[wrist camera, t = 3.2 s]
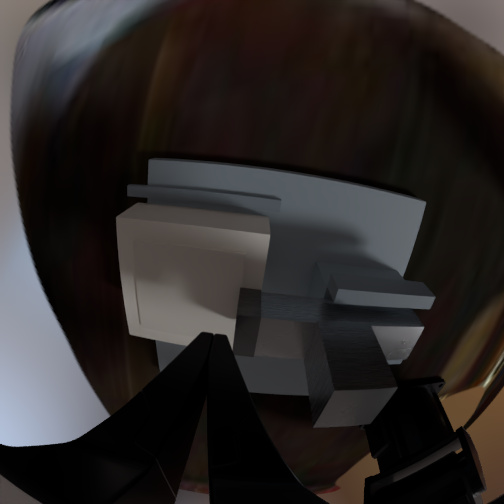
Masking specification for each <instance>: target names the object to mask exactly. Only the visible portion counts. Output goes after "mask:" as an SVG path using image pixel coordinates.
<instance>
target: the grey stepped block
mask: <svg viewBox="0 0 504 504" xmlns="http://www.w3.org/2000/svg"><path fill="white" fill-rule="evenodd" d="M423 329H424V326H423V324H422V323H421V321H420V320H419V318H418V317H417V315H416V314H415V312H414V311H413V309H412V308H396V307H379V306H364V305H351V304H338V303H334V302H333V300H332V299H327V298H316V297H306V296H296V295H287V294H277V293H268V292H261V290H258V289H250V288H242V287H240V292H239V300H238V308H237V316H236V324H235V333H234V342H233V353H234V355H238V356H247V357H254V355H255V356H265V357H277V358H291V359H304V365H305V372H306V379H307V386H308V393H309V400H310V408H311V415H312V423H313V428H316V427H340V426H354V425H365V424H371V422H372V421H373V420H374V419H375V417H376V416H377V415H378V414H379V412H380V411H381V410H382V409H383V407H384V406H385V405H386V403H387V402H388V401H389V399H390V398H391V397H392V395H393V394H394V392H395V391H396V390H397V388H398V386H397V383H396V381H395V378H394V376H393V374H392V371H391V369H390V367H389V364H388V362H387V360H404V359H407V357H408V356H409V354H410V352H411V350H412V349H413V347H414V345H415V343H416V342H417V340H418V338H419V336H420V334H421V332H422V331H423Z"/></svg>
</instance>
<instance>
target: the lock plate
mask: <svg viewBox="0 0 504 504" xmlns="http://www.w3.org/2000/svg"><path fill="white" fill-rule="evenodd" d="M127 196H132V197H145V198H148V200H147V203H149V204H160V205H171V206H181V207H191V208H201V209H210V210H219V211H227V212H236V213H244V214H252V215H260V216H268V217H269V223H270V241H269V248H268V254H267V260H266V266H265V272H264V279H263V285H262V291H261V292H268V293H277V294H287V295H296V296H306V297H316V298H327V299H332V300H333V302H334V303H338V304H351V305H364V306H379V307H396V308H415V309H430V308H431V306H432V304H433V301H434V299H435V296H434V295H433V293H432V292H431V291H430V290H429V289H428V288H427V286H426V285H425V284H424V283H423V282H415V281H405V280H404V278H403V275H404V272H405V270H406V267H407V264H408V261H409V258H410V255H411V252H412V249H413V246H414V243H415V240H416V237H417V234H418V230H419V227H420V223H421V220H422V216H423V213H424V209H425V205H426V202H425V201H423V200H421V199H419V198H416V197H413V196H409V195H405V194H401V193H397V192H393V191H389V190H385V189H380V188H376V187H372V186H367V185H363V184H358V183H353V182H348V181H343V180H338V179H333V178H328V177H322V176H317V175H311V174H305V173H299V172H293V171H286V170H279V169H272V168H265V167H257V166H249V165H241V164H232V163H222V162H211V161H199V160H185V159H169V158H153V159H150V160H149V164H148V185H138V184H129V185H127ZM156 347H157V354H158V361H159V368H160V372H161V371H162V370H163V369H164V368H165V367H166V366H167V365H168V364H169V363H170V362H171V361H172V360H173V359H174V358H175V357H176V356H177V355H178V354H179V353H180V352H181V351H182V350H183V349H184V348H185V347H186V346H185V345H180V344H174V343H168V342H163V341H158V340H156ZM235 358H236V361H237V363H238V366H239V368H240V371H241V373H242V376H243V378H244V381H245V383H246V386H247V388H248V391H249V392H254V393H267V394H283V395H309V393H308V386H307V379H306V372H305V365H304V359H291V358H277V357H265V356H255V355H254V357H247V356H238V355H235ZM387 362H388V364H401V362H402V360H387Z"/></svg>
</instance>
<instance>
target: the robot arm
mask: <svg viewBox="0 0 504 504" xmlns="http://www.w3.org/2000/svg"><path fill="white" fill-rule="evenodd" d="M444 385H445V381H444V379H436V380H429V381H422V382H413V383H404V384H397V386H398V388H397V390H396V391H395V392H394V394H393V395H392V397H391V398H390V399H389V401H388V402H387V403H386V405H385V406H384V407H383V409H382V410H381V411H380V412H379V414H378V415H377V416H376V417H375V419H374V420H373V421H372V422H371V424H365V425H359V427H360V430H365V431H366V435H367V439H368V443H369V447H370V451H371V456H372V457H373V458H374V459H376V458H377V461H378V465H379V470H380V473H379V474H377V475H374V476H370V477H367V478H365V487H364V504H483V501H482V498H481V493H483V492H485V491H486V489H487V488H486V483H485V479H484V475H483V471H482V467H481V464H480V460H479V457H478V453H477V451H476V448H475V446H474V444H473V441H472V439H471V437H470V435H469V434H468V433H467V432H466V430H465V429H464V428H463V427H462V426H461V427H460V428H458V429H457V430H456V432H454V430H453V428H452V426H451V424H450V421H449V419H448V417H447V415H446V413H445V410H444V408H443V406H442V404H441V402H440V399H439V397H438V395H437V394H438V393H439V391H440V390H441V389H442V388H443V386H444ZM206 395H207V446H208V480H209V501H210V504H329V503H328V502H326V501H325V500H323V499H321V498H320V497H318V496H317V495H315V494H314V493H312V492H311V491H310V490H308V489H307V488H306V487H305V486H304V485H303V484H302V483H301V482H300V481H299V480H298V479H297V477H296V476H295V475H294V473H293V472H292V471H291V469H290V468H289V466H288V465H287V463H286V462H285V460H284V459H283V457H282V456H281V454H280V453H279V451H278V450H277V448H276V447H275V445H274V444H273V442H272V440H271V439H270V437H269V435H268V434H267V432H266V430H265V428H264V426H263V424H262V421H261V419H260V417H259V415H258V412H257V410H256V408H255V405H254V403H253V401H252V398H251V396H250V393H249V391H248V388H247V386H246V383H245V381H244V378H243V376H242V373H241V371H240V368H239V366H238V363H237V361H236V358H235V355H234V353H233V350H232V348H231V345H230V342H229V340H228V337H227V335H225V334H217V333H216V334H213V333H210V332H201V333H200V334H199V335H198V336H197V337H196V338H195V339H194V340H193V341H192V342H191V343H190V344H189V345H188V346H186V347H185V348H184V349H183V350H182V351H181V352H180V353H179V354H178V355H177V356H176V357H175V358H174V359H173V360H172V361H171V362H170V363H169V364H168V365H167V366H166V367H165V368H164V369H163V370H162V371H161V372H160V373H159V374H158V375H157V376H156V377H155V378H154V379H153V380H151V381H150V382H149V383H148V384H147V385H146V386H145V387H144V388H143V389H142V391H140V392H139V393H138V394H137V395H136V396H135V397H134V398H132V399H131V400H130V401H129V402H128V403H127V404H126V405H124V406H123V407H122V408H121V409H119V410H118V411H117V412H116V413H114V414H113V415H112V416H110V417H109V418H107V419H106V420H104V421H103V422H102V423H100V424H99V425H97V426H96V427H94V428H93V429H91V430H90V431H89V432H87V433H86V434H84V435H83V436H81V437H79V438H77V439H75V440H72V441H70V442H66V443H59V444H50V445H39V446H23V447H11V446H6V445H2V444H0V504H175V501H176V497H177V494H178V490H179V487H180V483H181V480H182V477H183V473H184V470H185V466H186V463H187V460H188V456H189V453H190V449H191V446H192V443H193V439H194V436H195V433H196V429H197V426H198V422H199V419H200V416H201V412H202V409H203V406H204V402H205V399H206ZM460 448H462V449H463V451H461V452H460V453H458V454H456V453H455V451H457V450H459V449H460ZM487 504H504V494H502V495H500V496H499V497H497V498H496V499H494V500H492V501H491V502H489V503H487Z"/></svg>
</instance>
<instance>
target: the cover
mask: <svg viewBox="0 0 504 504" xmlns="http://www.w3.org/2000/svg"><path fill="white" fill-rule="evenodd" d="M116 228H117V243H118V255H119V265H120V274H121V282H122V290H123V297H124V304H125V310H126V316H127V322H128V328H129V333H130V335H134V336H139V337H143V338H148V339H153V340H158V341H163V342H168V343H174V344H180V345H185V346H188V345H189V344H190V343H191V342H192V341H193V340H194V339H195V338H196V337H197V336H198V335H199V334H200V333H201V332H210V333H213V334H216V333H217V334H225V335H227V337H228V340H229V342H230V345H231V348H232V350H233V342H234V333H235V324H236V316H237V308H238V300H239V292H240V287H242V288H250V289H258V290H261V291H262V285H263V279H264V272H265V266H266V260H267V254H268V248H269V241H270V223H269V217H268V216H260V215H252V214H244V213H236V212H227V211H219V210H210V209H201V208H191V207H181V206H171V205H160V204H149V203H136V204H135V205H133V206H132V207H130V208H129V209H127V210H126V211H124V212H123V213H121V214H120V215H118V216H117V217H116Z"/></svg>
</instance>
